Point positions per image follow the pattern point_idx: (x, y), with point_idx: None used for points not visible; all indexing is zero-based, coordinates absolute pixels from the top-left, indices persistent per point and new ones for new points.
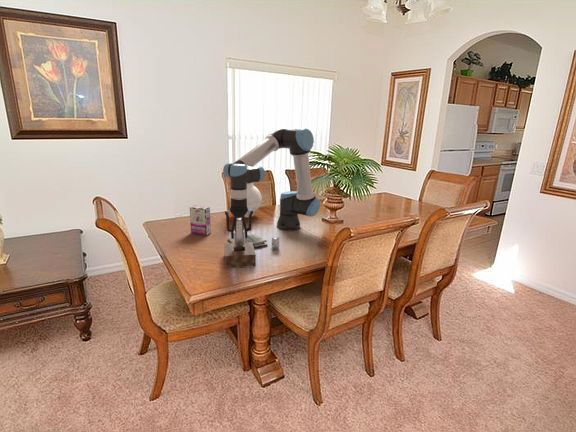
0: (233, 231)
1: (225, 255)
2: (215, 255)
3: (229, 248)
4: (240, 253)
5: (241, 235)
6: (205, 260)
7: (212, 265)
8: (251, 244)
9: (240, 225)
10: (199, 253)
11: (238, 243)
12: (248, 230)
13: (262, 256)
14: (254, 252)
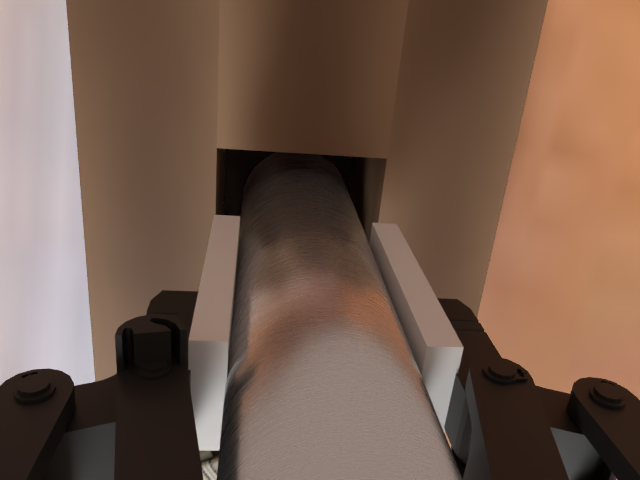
0: (476, 376)
1: (540, 27)
2: (508, 331)
3: (428, 266)
4: (309, 53)
5: (280, 289)
6: (628, 237)
7: (598, 100)
8: (110, 350)
9: (326, 468)
10: (633, 393)
11: (331, 216)
12: (86, 391)
13: (11, 226)
14: (79, 46)
